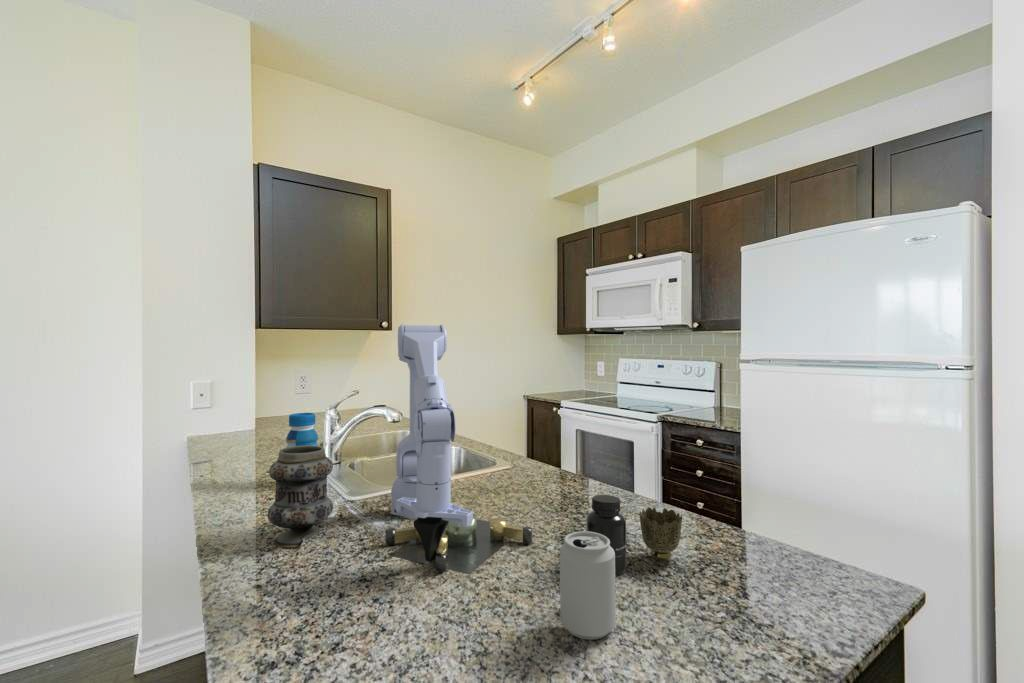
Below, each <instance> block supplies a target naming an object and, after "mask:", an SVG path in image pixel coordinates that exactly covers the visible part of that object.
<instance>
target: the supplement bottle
mask: <svg viewBox="0 0 1024 683" xmlns="http://www.w3.org/2000/svg"><path fill="white" fill-rule="evenodd" d="M591 510H592V511H590V512H589V513H588V514H587V516H586V518H585V519H586V520H585V530H586V531H589V532H595V533H599V534H602V535H604V536H606V537H607V538H608V539H609V540H610V546H611V547H612V548H613V550H614V552H615V577H616V576H620V575H622V574H623V573H624V572H625V571H626V570H627V521H626V518H625V516H624V515H623V514H622V513H621V511H622V509H621V499H620V498H619V497H617V496H614V495H612V494H611V495H610V494H598V495H597V494H596V495H594V496H592V498H591Z"/></svg>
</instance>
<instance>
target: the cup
mask: <svg viewBox="0 0 1024 683" xmlns="http://www.w3.org/2000/svg"><path fill="white" fill-rule="evenodd" d="M638 514H639V523H640V530H641V536H642V540H643V542H644V544H645V546H646V547H647V548H648V549H649V550H650V551H649V552H650V556H651V557H652V559H654V560H655V561H659V562H666V561H669V560H671V558H672V552H673V551H675V550H676V549H677V547H678V546H679V545H680V544H679V543H680V539H681V533H682V532H681V531H682V523H683V515H682V514H680V513H679V512H677V513H676V512H675V510H674V509H670V510H668V509H667V508H666V507H665V508H663V510H662V512H661V511H657V509H656V507H653V508H652V507H647V508H646V509H644V508H642V510H640V511H639V513H638Z"/></svg>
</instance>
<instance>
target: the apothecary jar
mask: <svg viewBox="0 0 1024 683" xmlns="http://www.w3.org/2000/svg"><path fill="white" fill-rule="evenodd" d="M325 451H326V450H325V447H323V446H319V445H318V446H311V445H305V446H293V447H288V448H286V447H284V448H281V449H280V450H279V451H278V457H277V460H276V461H275V462H273V463H272V464H271V465H270V467H269V471H268V473H269V477H270V478H271V479H272V480H274V481H275V495H274V496H275V497H274V502H273V503H272V504H271V505H270V506H269V508H268V511H267V519H268V521H269V522H270V523H271V524H272V525H274V526H275V527H277V528H278V527H279V528H281V529H287V530H286V531H284V532H282V533H280V534H279V535H278V534H277V536H276V537H275V538H274V539H273V544H274V545H275V546H276V547H278V548H284V549H296V548H301V547H302V543H303V540H304V539H308V538H310V537H311V538H312V537H314V536H316V535H318V534H319V533H320V531H321V528H320V527H319V526H316V525H318V524H320V523H323V521H325V520H326V519H328V518H329V516H330V515H331V514H332V512H333V508H334V504H333V502H332V500H331V499H330V498H329V497H328V494H327V493H328V490H327V489H328V488H327V487H328V486H327V485H328V482H327V480H328V476H329V475H330V474H331V473H332V471H333V467H334V463H333V462H332V460H331V459H330V458H329V457H328V456H326V453H325Z"/></svg>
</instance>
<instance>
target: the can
mask: <svg viewBox="0 0 1024 683" xmlns="http://www.w3.org/2000/svg"><path fill="white" fill-rule="evenodd" d="M563 541H564V542H563V544H562V545H561V546H560V548H559V599H560V600H559V603H560V604H559V607H560V608H559V614H560V615H559V616H560V617H559V618H560V620H559V621H560V623H561V625H562V627H564V628H565V629H567V631H568V633H570V634H571V635H572V636H574V637H577V638H579V639H584V640H591V641H593V640H598V639H599V638H600V639H602V638H604V637H606V636H607V635H608V634H609V633H611V632H612V630H614V629H615V626H616V620H617V618H616V576H615V552H614V550H613V548H612V547H611V546H610V540H609V539H608V538H607V537H606V536H604V535H602V534H599V533H595V532H589V531H584V530H582V531H574V532H570V533H569V534H567V535H565V537H564V538H563Z"/></svg>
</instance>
